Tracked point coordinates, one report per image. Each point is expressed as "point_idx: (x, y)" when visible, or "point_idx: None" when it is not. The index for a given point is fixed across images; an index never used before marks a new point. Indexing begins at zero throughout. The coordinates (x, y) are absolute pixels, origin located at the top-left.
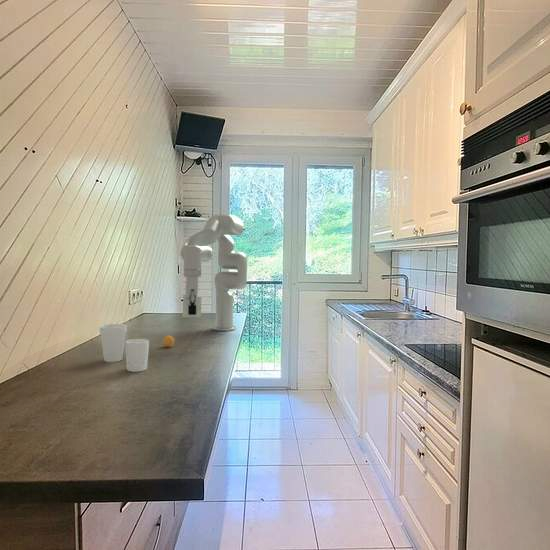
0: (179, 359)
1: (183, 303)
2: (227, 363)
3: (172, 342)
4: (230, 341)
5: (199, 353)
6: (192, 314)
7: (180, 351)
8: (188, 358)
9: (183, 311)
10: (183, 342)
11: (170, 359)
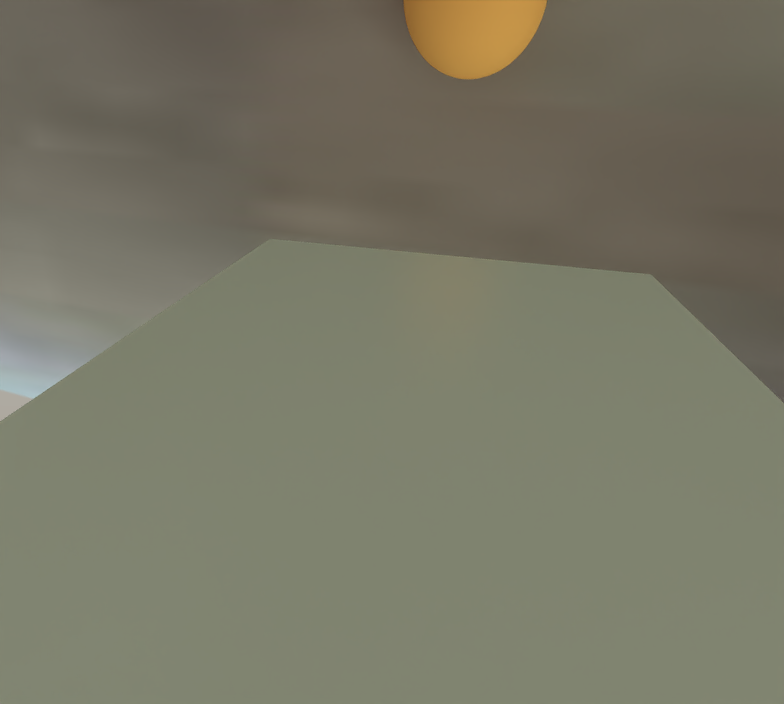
0: (30, 110)
1: (46, 408)
2: (11, 380)
3: (420, 52)
4: None
5: (209, 277)
6: None
7: (273, 135)
8: (69, 183)
9: (216, 288)
10: (638, 193)
11: (14, 29)
